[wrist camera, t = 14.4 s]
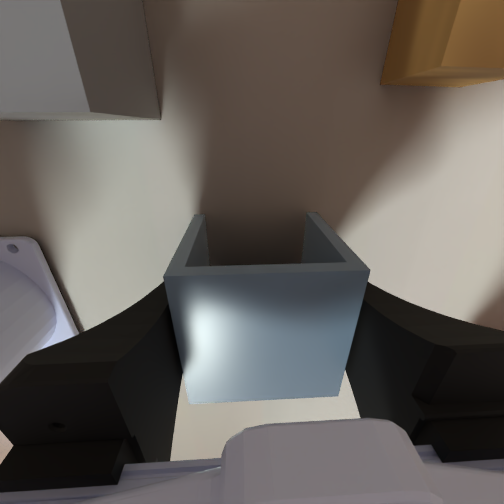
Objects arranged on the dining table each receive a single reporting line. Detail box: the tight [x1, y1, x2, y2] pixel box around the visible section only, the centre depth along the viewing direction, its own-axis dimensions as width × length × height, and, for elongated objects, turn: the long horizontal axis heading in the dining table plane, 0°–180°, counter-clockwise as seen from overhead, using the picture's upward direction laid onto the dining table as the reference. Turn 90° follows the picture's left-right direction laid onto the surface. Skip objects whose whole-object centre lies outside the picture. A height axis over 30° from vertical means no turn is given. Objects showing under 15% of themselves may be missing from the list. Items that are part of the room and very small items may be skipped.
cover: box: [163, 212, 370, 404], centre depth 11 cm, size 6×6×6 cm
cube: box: [380, 0, 504, 87], centre depth 8 cm, size 4×4×4 cm
